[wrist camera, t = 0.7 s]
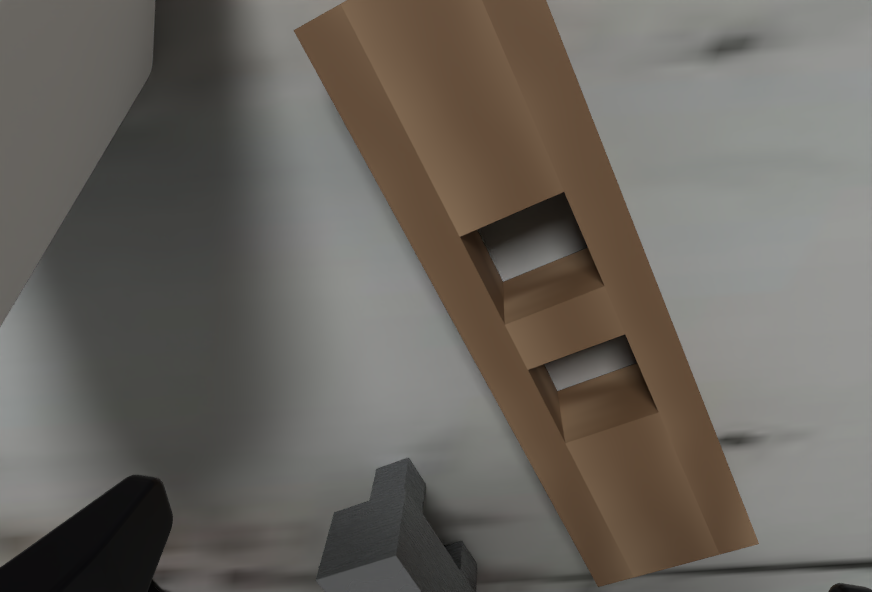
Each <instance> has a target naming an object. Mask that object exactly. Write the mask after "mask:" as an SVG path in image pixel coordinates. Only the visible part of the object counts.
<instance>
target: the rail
mask: <svg viewBox="0 0 872 592" xmlns="http://www.w3.org/2000/svg"><path fill="white" fill-rule="evenodd" d="M294 32H295V34H296V36H297V37H298V39H299V41H300V43H301V45H302V47H303V48H304V50H305V52H306V54H307V56H308V57H309V59H310V61H311V63H312V65H313V67H314V68H315V70H316V72H317V74H318V76H319V78H320V79H321V81H322V83H323V85H324V87H325V89H326V90H327V92H328V94H329V96H330V98H331V100H332V101H333V103H334V105H335V107H336V109H337V110H338V112H339V114H340V116H341V118H342V120H343V121H344V123H345V125H346V127H347V129H348V131H349V132H350V134H351V136H352V138H353V140H354V142H355V143H356V145H357V147H358V149H359V151H360V153H361V154H362V156H363V158H364V160H365V162H366V163H367V165H368V167H369V169H370V171H371V173H372V174H373V176H374V178H375V180H376V182H377V184H378V185H379V187H380V189H381V191H382V193H383V195H384V196H385V198H386V200H387V202H388V204H389V206H390V207H391V209H392V211H393V213H394V215H395V217H396V218H397V220H398V222H399V224H400V226H401V227H402V229H403V231H404V233H405V235H406V237H407V238H408V240H409V242H410V244H411V246H412V248H413V249H414V251H415V253H416V255H417V257H418V259H419V260H420V262H421V264H422V266H423V268H424V270H425V271H426V273H427V275H428V277H429V279H430V280H431V282H432V284H433V286H434V288H435V290H436V291H437V293H438V295H439V297H440V299H441V301H442V302H443V304H444V306H445V308H446V310H447V312H448V313H449V315H450V317H451V319H452V321H453V323H454V324H455V326H456V328H457V330H458V332H459V333H460V335H461V337H462V339H463V341H464V343H465V344H466V346H467V348H468V350H469V352H470V354H471V355H472V357H473V359H474V361H475V363H476V365H477V366H478V368H479V370H480V372H481V374H482V376H483V377H484V379H485V381H486V383H487V385H488V386H489V388H490V390H491V392H492V394H493V396H494V397H495V399H496V401H497V403H498V405H499V407H500V408H501V410H502V412H503V414H504V416H505V418H506V419H507V421H508V423H509V425H510V427H511V429H512V430H513V432H514V434H515V436H516V438H517V440H518V441H519V443H520V445H521V447H522V449H523V450H524V452H525V454H526V456H527V458H528V460H529V461H530V463H531V465H532V467H533V469H534V471H535V472H536V474H537V476H538V478H539V480H540V482H541V483H542V485H543V487H544V489H545V491H546V493H547V494H548V496H549V498H550V500H551V502H552V503H553V505H554V507H555V509H556V511H557V513H558V514H559V516H560V518H561V520H562V522H563V524H564V525H565V527H566V529H567V531H568V533H569V535H570V536H571V538H572V540H573V542H574V544H575V546H576V547H577V549H578V551H579V553H580V555H581V556H582V558H583V560H584V562H585V564H586V566H587V567H588V569H589V571H590V573H591V575H592V577H593V578H594V580H595V582H596V584H597V586H598V587H600V586H604V585H608V584H611V583H615V582H619V581H622V580H626V579H630V578H634V577H637V576H641V575H645V574H649V573H652V572H656V571H660V570H663V569H667V568H671V567H675V566H678V565H682V564H686V563H690V562H693V561H697V560H701V559H704V558H708V557H712V556H716V555H719V554H723V553H727V552H731V551H734V550H738V549H742V548H746V547H749V546H753V545H757V544H759V543H758V540H757V538H756V535H755V532H754V530H753V527H752V525H751V522H750V520H749V517H748V515H747V512H746V509H745V507H744V504H743V502H742V499H741V497H740V494H739V492H738V489H737V486H736V484H735V481H734V479H733V476H732V474H731V471H730V469H729V466H728V464H727V461H726V458H725V456H724V453H723V451H722V448H721V446H720V443H719V441H718V438H717V435H716V433H715V430H714V428H713V425H712V423H711V420H710V418H709V415H708V412H707V410H706V407H705V405H704V402H703V400H702V397H701V395H700V392H699V390H698V387H697V384H696V382H695V379H694V377H693V374H692V372H691V369H690V367H689V364H688V361H687V359H686V356H685V354H684V351H683V349H682V346H681V344H680V341H679V338H678V336H677V333H676V331H675V328H674V326H673V323H672V321H671V318H670V315H669V313H668V310H667V308H666V305H665V303H664V300H663V298H662V295H661V293H660V290H659V287H658V285H657V282H656V280H655V277H654V275H653V272H652V270H651V267H650V264H649V262H648V259H647V257H646V254H645V252H644V249H643V247H642V244H641V241H640V239H639V236H638V234H637V231H636V229H635V226H634V224H633V221H632V219H631V216H630V213H629V211H628V208H627V206H626V203H625V201H624V198H623V196H622V193H621V190H620V188H619V185H618V183H617V180H616V178H615V175H614V173H613V170H612V167H611V165H610V162H609V160H608V157H607V155H606V152H605V150H604V147H603V145H602V142H601V139H600V137H599V134H598V132H597V129H596V127H595V124H594V122H593V119H592V116H591V114H590V111H589V109H588V106H587V104H586V101H585V99H584V96H583V93H582V91H581V88H580V86H579V83H578V81H577V78H576V76H575V73H574V70H573V68H572V65H571V63H570V60H569V58H568V55H567V53H566V50H565V48H564V45H563V42H562V40H561V37H560V35H559V32H558V30H557V27H556V25H555V22H554V19H553V17H552V14H551V12H550V9H549V7H548V4H547V2H546V0H347V1H345V2H343V3H342V4H340V5H338V6H336V7H334V8H333V9H331V10H329V11H327V12H325V13H324V14H322V15H320V16H318V17H317V18H315V19H313V20H311V21H309V22H308V23H306V24H304V25H302V26H301V27H299V28H297V29H295V30H294ZM562 192H564V193H565V195H566V197H567V200H568V202H569V204H570V207H571V209H572V211H573V214H574V216H575V218H576V221H577V223H578V225H579V228H580V230H581V232H582V235H583V237H584V239H585V242H586V244H587V246H588V248H586V249H583V250H581V251H578V252H576V253H573V254H571V255H568V256H566V257H563V258H561V259H558V260H556V261H554V262H551V263H549V264H546V265H544V266H541V267H539V268H536V269H534V270H531V271H529V272H526V273H524V274H522V275H519V276H517V277H514V278H512V279H509V280H507V281H504V282H503V281H502V279H501V277H500V275H499V273H498V271H497V269H496V267H495V265H494V263H493V261H492V259H491V257H490V255H489V253H488V251H487V249H486V247H485V245H484V243H483V241H482V239H481V237H480V235H479V233H478V231H477V229H479V228H481V227H484V226H486V225H488V224H491V223H493V222H495V221H498V220H500V219H502V218H505V217H507V216H509V215H511V214H514V213H516V212H518V211H521V210H523V209H525V208H528V207H530V206H532V205H535V204H537V203H539V202H542V201H544V200H546V199H548V198H551V197H553V196H555V195H558V194H560V193H562ZM622 335H626V337H627V340H628V342H629V344H630V347H631V349H632V351H633V354H634V356H635V358H636V361H637V363H636V364H633V365H630V366H628V367H625V368H622V369H619V370H616V371H613V372H611V373H608V374H605V375H602V376H599V377H596V378H594V379H591V380H588V381H585V382H582V383H579V384H577V385H574V386H571V387H568V388H565V389H562V390H560V391H557V390H556V388H555V386H554V384H553V382H552V380H551V377H550V375H549V373H548V371H547V369H546V367H545V365H544V364H545V363H548V362H551V361H554V360H556V359H559V358H562V357H565V356H567V355H570V354H573V353H575V352H578V351H581V350H584V349H586V348H589V347H592V346H595V345H597V344H600V343H603V342H606V341H608V340H611V339H614V338H616V337H619V336H622Z"/></svg>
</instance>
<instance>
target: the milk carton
mask: <svg viewBox="0 0 872 592" xmlns="http://www.w3.org/2000/svg"><path fill="white" fill-rule="evenodd" d="M154 23H155V0H0V327H1V325H2V323H3V322H4V320H5V318H6V317H7V315H8V313H9V311H10V310H11V308H12V306H13V305H14V303H15V301H16V300H17V298H18V296H19V295H20V293H21V291H22V290H23V288H24V286H25V285H26V283H27V281H28V279H29V278H30V276H31V274H32V273H33V271H34V269H35V268H36V266H37V264H38V263H39V261H40V259H41V258H42V256H43V254H44V253H45V251H46V249H47V247H48V246H49V244H50V242H51V241H52V239H53V237H54V236H55V234H56V232H57V231H58V229H59V227H60V226H61V224H62V222H63V220H64V219H65V217H66V215H67V214H68V212H69V210H70V209H71V207H72V205H73V204H74V202H75V200H76V199H77V197H78V195H79V194H80V192H81V190H82V188H83V187H84V185H85V183H86V182H87V180H88V178H89V177H90V175H91V173H92V172H93V170H94V168H95V167H96V165H97V163H98V162H99V160H100V158H101V156H102V155H103V153H104V151H105V150H106V148H107V146H108V145H109V143H110V141H111V140H112V138H113V136H114V135H115V133H116V131H117V129H118V128H119V126H120V124H121V123H122V121H123V119H124V118H125V116H126V114H127V113H128V111H129V109H130V108H131V106H132V104H133V103H134V101H135V99H136V97H137V96H138V94H139V92H140V91H141V89H142V87H143V86H144V84H145V82H146V81H147V79H148V77H149V75H150V73H151V70H152V65H153V48H154Z"/></svg>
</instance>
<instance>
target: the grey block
mask: <svg viewBox="0 0 872 592" xmlns="http://www.w3.org/2000/svg"><path fill="white" fill-rule="evenodd" d="M424 492H425V483H424V481H423V479H422V478H421V476H420V475H419V473H418V472H417V470H416V469H415V467H414V465H413V464H412V462H411V461H410V459H409V458H407V459H404V460H401V461H398V462H395V463H393V464H390V465H387V466H384V467H381V468H378V469H376V473H375V478H374V482H373V487H372V492H371V496H370V501H367V502H364V503H361V504H358V505H355V506H352V507H349V508H346V509H344V510H341V511H338V512H335V513H334V515H333V519H332V523H331V526H330V530H329V533H328V537H327V541H326V544H325V548H324V552H323V555H322V559H321V563H320V566H319V570H318V574H317V577H316V581H317V583H318V584H319V585H320V586H321V588H322V589H323V590H324V591H325V592H476V570H477V564H476V562H475V561H474V559H473V558H472V556H471V554H470V553H469V551H468V550H467V548H466V547H465V545H464V543H463V542H462V541H461V542H457V543H454V544H451V545H447V546H444V545H443V544H442V542H441V541H440V539H439V538H438V536H437V535H436V533H435V532H434V530H433V529H432V527H431V526H430V524H429V523H428V521H427V520H426V518H425V516H424V515H423V513H422V509H423V500H424Z"/></svg>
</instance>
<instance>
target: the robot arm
mask: <svg viewBox="0 0 872 592" xmlns="http://www.w3.org/2000/svg"><path fill="white" fill-rule="evenodd" d="M172 521H173V516H172V511H171V508H170V504H169V501H168V498H167V494H166V491H165V488H164V484H163V482H162V481H161V480H160V479H159V478H155V477H149V476H142V475H132V476H129V477H127V478H125V479H124V480H123V481H121V482H120V483H118V484H117V485H115V486H114V487H113V488H111V489H110V490H108V491H107V492H106V493H104V494H103V495H101V496H100V497H99V498H97V499H96V500H94V501H93V502H92V503H90V504H89V505H87V506H86V507H85V508H83V509H82V510H80V511H79V512H78V513H76V514H75V515H73V516H72V517H71V518H69V519H68V520H66V521H65V522H64V523H62V524H61V525H59V526H58V527H57V528H55V529H54V530H52V531H51V532H49V533H48V534H47V535H45V536H44V537H42V538H41V539H40V540H38V541H37V542H35V543H34V544H33V545H31V546H30V547H28V548H27V549H26V550H24V551H23V552H21V553H20V554H19V555H17V556H16V557H14V558H13V559H12V560H10V561H9V562H7V563H6V564H5V565H3V566H2V567H0V592H159V591H158V589H157V588H156V587H155V586H154V585H153V584H152V583H151V581H152V578H153V575H154V573H155V570H156V568H157V565H158V562H159V560H160V557H161V555H162V552H163V549H164V547H165V544H166V542H167V539H168V536H169V534H170V531H171V527H172ZM829 592H872V590H871V589H869V588H866V587H862V586H856V585H849V584H843V583H837V584H835V585H833V586H832V587H831V588H830V590H829Z"/></svg>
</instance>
